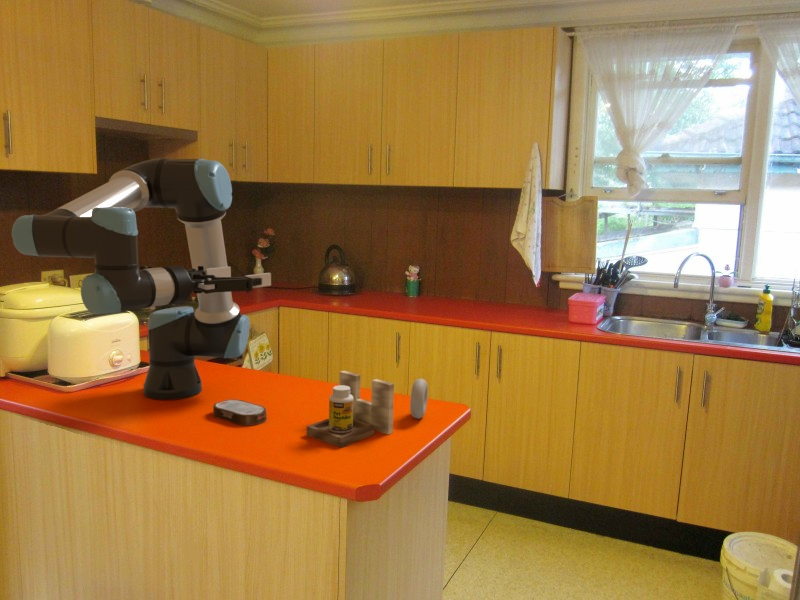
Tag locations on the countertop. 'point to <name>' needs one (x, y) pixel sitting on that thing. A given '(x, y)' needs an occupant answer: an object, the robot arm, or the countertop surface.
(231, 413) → the tin
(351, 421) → the supplement bottle
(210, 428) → the countertop surface
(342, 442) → the square tray
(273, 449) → the countertop surface
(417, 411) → the donut
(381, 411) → the notched board
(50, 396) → the countertop surface
